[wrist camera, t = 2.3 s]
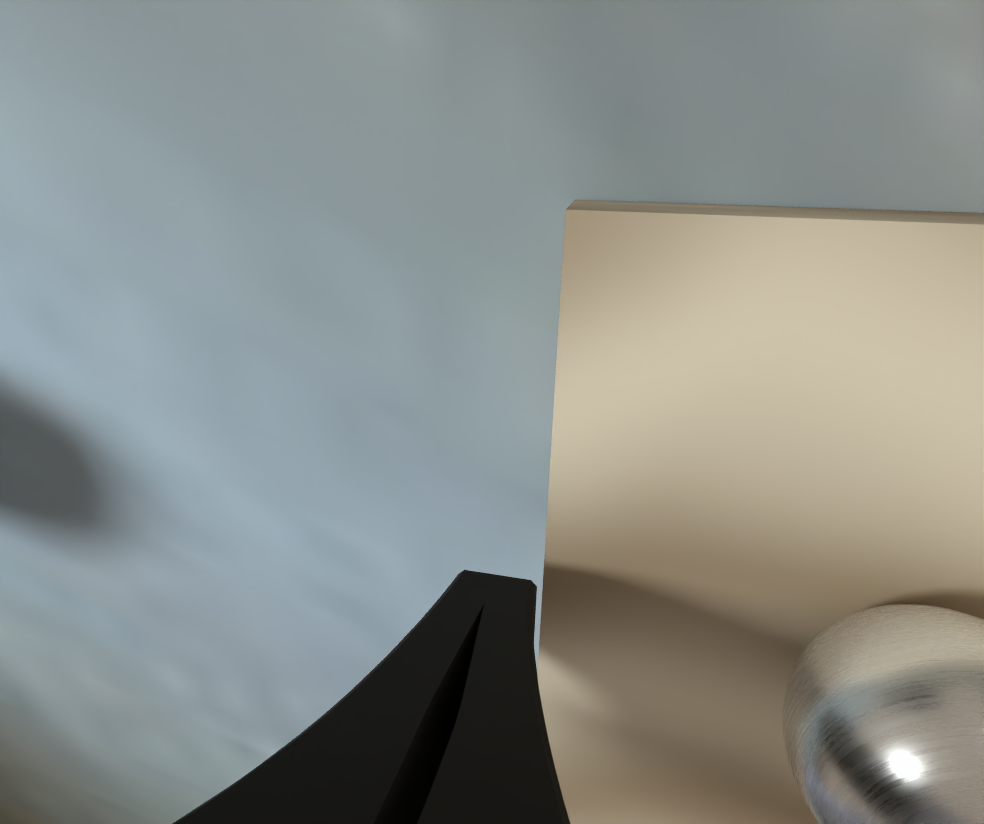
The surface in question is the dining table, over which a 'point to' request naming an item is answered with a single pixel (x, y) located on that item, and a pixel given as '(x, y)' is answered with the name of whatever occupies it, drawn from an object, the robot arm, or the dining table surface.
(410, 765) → the robot arm
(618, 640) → the ash board
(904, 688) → the steel ball
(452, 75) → the dining table surface
